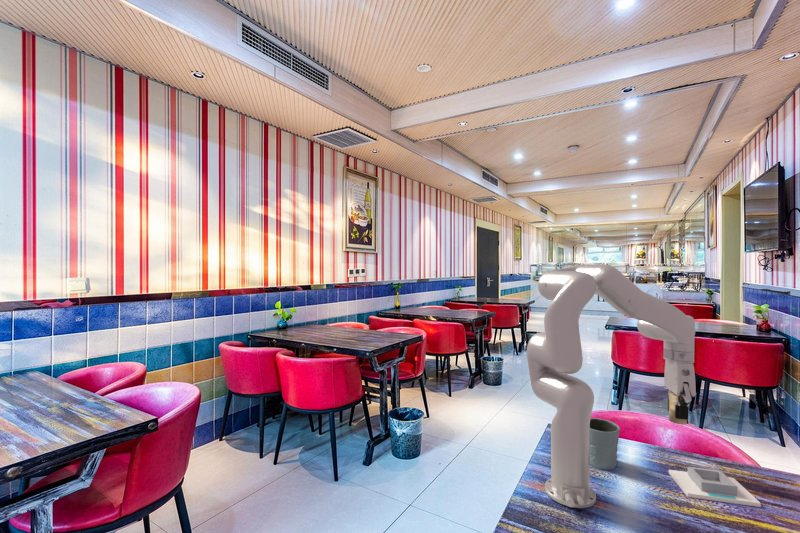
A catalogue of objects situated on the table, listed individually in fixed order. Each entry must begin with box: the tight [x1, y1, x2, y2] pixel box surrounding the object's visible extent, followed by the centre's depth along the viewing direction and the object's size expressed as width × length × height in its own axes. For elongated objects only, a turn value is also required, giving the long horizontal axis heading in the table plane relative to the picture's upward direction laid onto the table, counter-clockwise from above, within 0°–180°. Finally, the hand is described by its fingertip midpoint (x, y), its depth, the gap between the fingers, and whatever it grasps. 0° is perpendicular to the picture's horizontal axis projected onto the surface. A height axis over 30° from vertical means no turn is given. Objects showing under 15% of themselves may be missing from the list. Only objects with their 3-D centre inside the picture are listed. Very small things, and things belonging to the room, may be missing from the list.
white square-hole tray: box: [668, 466, 762, 508], centre depth 104 cm, size 12×16×4 cm
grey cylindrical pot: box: [590, 417, 620, 471], centre depth 118 cm, size 10×10×12 cm
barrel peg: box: [668, 393, 688, 425], centre depth 115 cm, size 4×4×8 cm
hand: (677, 414), depth 115 cm, fingers closed on barrel peg, 4 cm apart
